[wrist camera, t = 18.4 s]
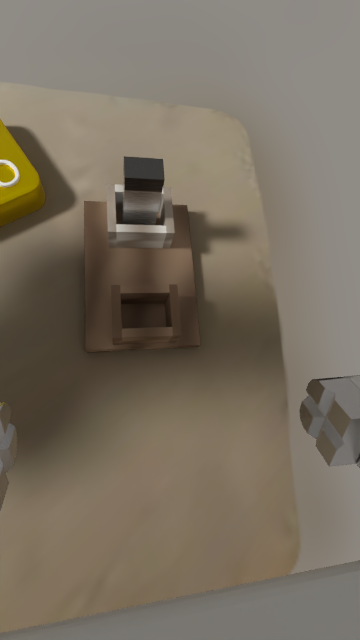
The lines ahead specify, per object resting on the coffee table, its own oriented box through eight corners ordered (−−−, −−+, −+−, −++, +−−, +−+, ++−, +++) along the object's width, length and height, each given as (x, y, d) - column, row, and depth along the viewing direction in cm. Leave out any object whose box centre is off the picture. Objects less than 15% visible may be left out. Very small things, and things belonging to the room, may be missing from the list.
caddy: (86, 352, 39) (81, 343, 34) (85, 207, 44) (81, 180, 39) (197, 346, 42) (209, 338, 37) (185, 211, 47) (193, 186, 42)
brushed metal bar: (122, 234, 43) (124, 177, 32) (122, 217, 43) (123, 156, 33) (153, 234, 44) (164, 179, 33) (152, 218, 44) (162, 159, 34)
